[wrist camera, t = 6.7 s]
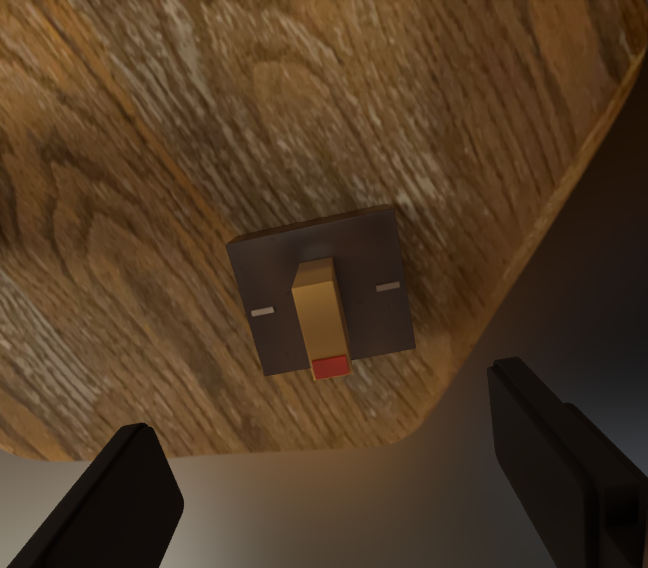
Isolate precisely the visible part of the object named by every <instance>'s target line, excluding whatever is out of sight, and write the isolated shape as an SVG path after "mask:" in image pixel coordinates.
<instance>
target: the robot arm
mask: <svg viewBox="0 0 648 568" xmlns="http://www.w3.org/2000/svg"><path fill="white" fill-rule="evenodd" d="M487 376H488V386H489V396H490V406H491V416H492V426H493V436H494V446H495V453H496V456H497V459H498V462H499V464H500V466H501V468H502V469H503V471H504V473H505V475H506V477H507V478H508V480H509V482H510V484H511V486H512V487H513V489H514V491H515V493H516V495H517V497H518V498H519V500H520V502H521V504H522V505H523V507H524V509H525V511H526V513H527V514H528V516H529V518H530V520H531V521H532V523H533V525H534V527H535V529H536V530H537V532H538V534H539V536H540V538H541V540H542V541H543V543H544V545H545V547H546V548H547V550H548V552H549V554H550V556H551V558H552V559H553V561H554V563H555V565H556V567H557V568H648V477H647V476H645V474H644V473H643V472H642V471H641V470H640V469H638V467H637V466H635V464H633V462H631V460H630V459H629V458H627V457H626V456H625V455H624V454H623V453H622V452H621V451H620V450H619V449H618V448H617V447H616V446H615V445H614V444H613V443H612V442H611V441H610V440H609V439H608V438H607V437H606V436H605V435H604V434H603V433H602V432H601V431H600V430H599V429H598V428H597V427H596V426H595V425H594V424H593V423H592V422H591V421H590V420H589V419H588V418H587V417H586V416H585V415H584V414H583V413H582V412H581V411H580V410H579V409H578V408H577V407H576V406H574V405H573V404H571V403H562V402H561V400H560V399H559V398H558V397H557V396H556V395H555V394H554V393H553V392H552V391H551V390H550V389H549V388H548V387H547V386H546V385H545V384H544V383H543V382H542V381H541V380H540V379H539V378H538V377H537V376H536V374H534V372H533V371H532V370H531V369H530V368H529V367H528V366H527V365H526V364H525V363H524V362H523V361H522V360H521V359H520V358H519V357H511V358H505V359H499V360H495V361H494V363H493V366H492V367H488V368H487ZM183 509H184V499H183V496H182V494H181V492H180V489H179V487H178V485H177V482H176V480H175V478H174V475H173V473H172V471H171V468H170V466H169V464H168V461H167V459H166V457H165V454H164V452H163V450H162V447H161V445H160V443H159V440H158V438H157V436H156V433H155V431H154V429H153V428H152V427H148V425H147V424H145V423H137V424H131V425H126V426H122V427H121V428H120V429H119V430H118V431H117V432H116V433H115V435H114V436H113V437H112V438H111V440H110V441H109V442H108V443H107V445H106V446H105V447H104V448H103V449H102V451H101V452H100V453H99V454H98V456H97V457H96V458H95V459H94V461H93V462H92V463H91V464H90V466H89V467H88V468H87V469H86V471H85V472H84V473H83V474H82V475H81V477H80V478H79V479H78V480H77V482H76V483H75V484H74V485H73V486H72V488H71V489H70V490H69V492H68V493H67V494H66V495H65V496H64V498H63V499H62V500H61V501H60V502H59V504H58V505H57V506H56V507H55V509H54V510H53V511H52V512H51V514H50V515H49V516H48V517H47V519H46V520H45V521H44V522H43V523H42V525H41V526H40V527H39V528H38V530H37V531H36V532H35V533H34V535H33V536H32V537H31V538H30V539H29V541H28V542H27V543H26V545H25V546H24V547H23V548H22V549H21V551H20V552H19V553H18V554H17V556H16V557H15V558H14V559H13V560H12V562H11V563H10V564H9V565H8V567H7V568H159V566H160V564H161V561H162V559H163V557H164V555H165V552H166V550H167V548H168V545H169V543H170V541H171V539H172V536H173V534H174V532H175V529H176V527H177V525H178V522H179V520H180V518H181V515H182V513H183Z"/></svg>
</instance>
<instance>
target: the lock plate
mask: <svg viewBox="0 0 648 568" xmlns="http://www.w3.org/2000/svg"><path fill="white" fill-rule="evenodd" d="M226 248H227V251H228V255H229V258H230V261H231V265H232V268H233V271H234V275H235V278H236V281H237V285H238V288H239V291H240V295H241V298H242V302H243V305H244V308H245V312H246V315H247V318H248V322H249V325H250V328H251V332H252V335H253V339H254V342H255V345H256V349H257V352H258V355H259V359H260V362H261V365H262V369H263V372H264V375H265V376H269V375H275V374H280V373H286V372H291V371H296V370H302V369H307V368H311V366H310V362H309V358H308V354H307V350H306V346H305V342H304V338H303V334H302V330H301V326H300V322H299V318H298V314H297V310H296V306H295V302H294V298H293V294H292V286H293V283H294V280H295V277H296V274H297V271H298V268H299V264H300V263H304V262H309V261H314V260H319V259H324V258H329V257H332V258H333V262H334V267H335V272H336V277H337V281H338V286H339V291H340V296H341V301H342V305H343V310H344V315H345V320H346V325H347V329H348V336H349V344H350V353H351V360H355V359H361V358H366V357H371V356H377V355H382V354H388V353H393V352H398V351H404V350H409V349H414V348H416V345H415V339H414V333H413V326H412V320H411V314H410V308H409V301H408V295H407V289H406V282H405V276H404V270H403V264H402V257H401V251H400V245H399V238H398V232H397V226H396V220H395V213H394V208H392V207H390V206H389V205H387V204H382V205H378V206H373V207H369V208H364V209H359V210H355V211H350V212H346V213H341V214H336V215H332V216H327V217H323V218H318V219H313V220H309V221H304V222H300V223H295V224H290V225H286V226H281V227H277V228H272V229H267V230H263V231H258V232H254V233H249V234H244V235H240V236H237V237H236V238H234V239H233V240H231V241H230V242H229V243H227V244H226Z"/></svg>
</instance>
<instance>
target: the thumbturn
mask: <svg viewBox="0 0 648 568" xmlns="http://www.w3.org/2000/svg"><path fill="white" fill-rule="evenodd" d="M292 294H293V298H294V302H295V306H296V310H297V314H298V318H299V322H300V326H301V330H302V334H303V338H304V342H305V346H306V350H307V354H308V358H309V362H310V366H311V370H312V374H313V378H314V380H315V381H316V380H322V379H327V378H333V377H339V376H344V375H350V374H352V373H353V370H352V362H351V353H350V344H349V336H348V329H347V325H346V320H345V315H344V310H343V305H342V301H341V296H340V291H339V286H338V281H337V277H336V272H335V267H334V262H333V258H332V257H329V258H324V259H319V260H314V261H309V262H304V263H300V264H299V268H298V271H297V274H296V277H295V280H294V283H293V286H292Z"/></svg>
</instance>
